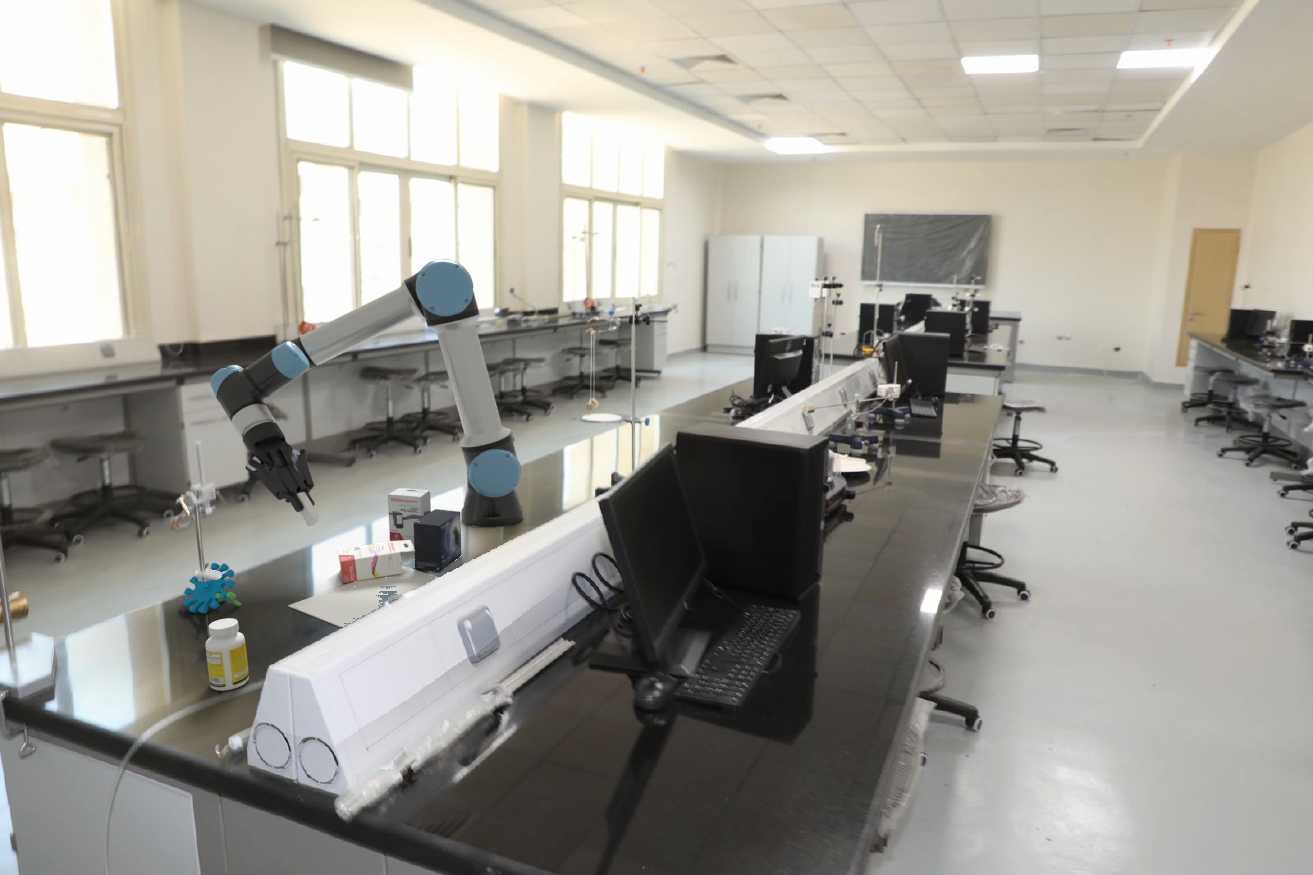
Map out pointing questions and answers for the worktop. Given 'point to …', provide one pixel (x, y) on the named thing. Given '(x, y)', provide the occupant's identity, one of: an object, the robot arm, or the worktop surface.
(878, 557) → the worktop surface
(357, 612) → the mat
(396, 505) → the ink box
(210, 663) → the supplement bottle
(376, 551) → the ink cartridge box
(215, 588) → the gear
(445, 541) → the small box
